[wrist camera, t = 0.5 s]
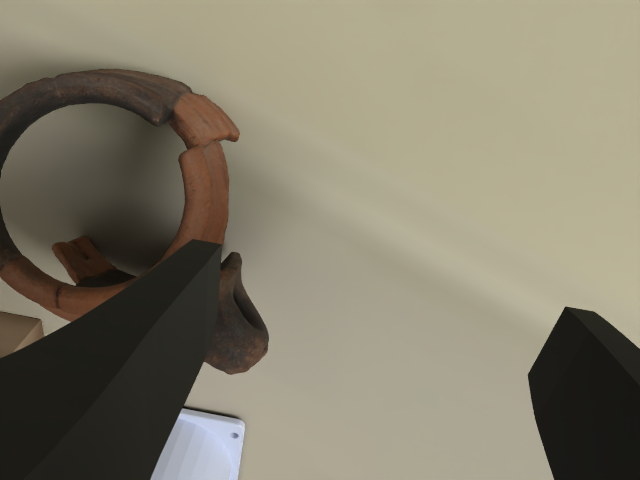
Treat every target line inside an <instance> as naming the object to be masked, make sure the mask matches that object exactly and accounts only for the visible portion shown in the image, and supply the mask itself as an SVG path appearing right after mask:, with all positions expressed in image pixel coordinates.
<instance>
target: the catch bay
mask: <svg viewBox="0 0 640 480" xmlns="http://www.w3.org/2000/svg"><path fill="white" fill-rule="evenodd" d="M43 337H44V334H43V328H42V323H41V320H40V319H35V318H30V317H25V316H19V315H14V314H9V313H4V312H0V358H2V357H4V356H6V355H9V354H11V353H13V352H15V351H17V350H19V349H22V348H24V347H26V346H28V345H30V344H31V343H33V342H35V341H37V340H39V339H41V338H43Z"/></svg>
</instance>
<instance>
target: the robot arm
mask: <svg viewBox="0 0 640 480" xmlns="http://www.w3.org/2000/svg"><path fill="white" fill-rule="evenodd" d="M221 251H222V244H218V243H213V242H207V241H202V240H196V239H192V240H191V241H189V242H187V243H186V244H185V245H183V246H182V247H181V248H179V249H178V250H177V251H175V252H174V253H173V254H171V255H170V256H169V257H167V258H166V259H165V260H163V261H162V262H161V263H159V264H158V265H157V266H155V267H154V268H153V269H151V270H150V271H148V272H147V273H146V274H144V275H143V276H141V277H140V278H139V279H137V280H136V281H134V282H133V283H131V284H130V285H129V286H127V287H126V288H124V289H123V290H121V291H120V292H119V293H117V294H116V295H114V296H113V297H111V298H109V299H108V300H106V301H105V302H103V303H101V304H100V305H98V306H97V307H95V308H94V309H92V310H90V311H89V312H87V313H86V314H84V315H82V316H81V317H79V318H78V319H76V320H74V321H72V322H71V323H69V324H67V325H66V326H64V327H62V328H60V329H58V330H56V331H55V332H53V333H51V334H49V335H47V336H45V337H43V338H41V339H39V340H37V341H35V342H33V343H31V344H30V345H28V346H26V347H24V348H22V349H19V350H17V351H15V352H13V353H11V354H9V355H6V356H4V357H2V358H0V480H238V474H239V467H240V460H241V452H242V445H243V438H244V431H245V424H244V422H243V421H241V420H239V419H236V418H230V417H225V416H220V415H215V414H209V413H204V412H199V411H194V410H188V409H183V406H184V403H185V401H186V399H187V397H188V395H189V393H190V391H191V388H192V386H193V384H194V382H195V380H196V377H197V375H198V373H199V371H200V369H201V366H202V364H203V362H204V359H205V356H206V353H207V350H208V347H209V344H210V341H211V338H212V335H213V332H214V329H215V325H216V322H217V319H218V302H219V285H220V268H221ZM528 380H529V386H530V393H531V399H532V405H533V410H534V415H535V420H536V424H537V427H538V430H539V434H540V437H541V440H542V443H543V446H544V449H545V453H546V456H547V459H548V462H549V465H550V468H551V471H552V474H553V477H554V480H640V349H639V348H638V347H637V346H636V345H635V344H633V343H632V342H631V341H630V340H629V339H628V338H626V337H625V336H624V335H623V334H622V333H621V332H619V331H618V330H617V329H616V328H615V327H614V326H612V325H611V324H610V323H609V322H607V321H606V320H605V319H604V318H602V317H601V316H600V315H598V314H597V313H595V312H593V311H588V310H582V309H576V308H571V307H565V308H564V310H563V312H562V314H561V315H560V317H559V319H558V321H557V323H556V324H555V326H554V328H553V330H552V332H551V334H550V335H549V337H548V339H547V341H546V343H545V344H544V346H543V348H542V350H541V352H540V354H539V355H538V357H537V359H536V361H535V363H534V364H533V366H532V368H531V370H530V372H529V373H528Z"/></svg>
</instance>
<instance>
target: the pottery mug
mask: <svg viewBox="0 0 640 480" xmlns="http://www.w3.org/2000/svg"><path fill="white" fill-rule="evenodd" d="M86 103H103V104H110V105H115V106H118V107H121V108H124V109H127V110H129V111H131V112H134V113H136V114H138V115H139V116H141V117H142V118H144V119H145V120H147V121H148V122H150V123H151V124H153V125H154V126H157V127H159V126H161V125H162V124H166V123H169V124H170V125H171V127H172V128H173V129H174V130H175V132H176V133H177V134H178V135H179V136H180V137H181V138H182V140H183V141H184V143H185V145H186V147H187V150H186V151H184V152H183V153H181V155H180V156H179V158H178V161H179V164H180V168H181V171H182V176H183V182H184V189H185V206H184V212H183V217H182V220H181V224H180V227H179V230H178V233H177V235H176V237H175V239H174V241H173V242H172V244H171V246H170V247H169V249H168V250H167V251H166V253H165V254H164V256H163V257H162V259H161V261H159V262H158V263H157V264H155V265H154V266H153V267H152V268H151V269H153V268H154V267H155V266H157V265H158V264H159V263H161V262H162V261H163V260H165V259H166V258H167V257H169V256H170V255H171V254H173V253H174V252H175V251H177V250H178V249H179V248H181V247H182V246H183V245H185V244H186V243H187V242H189V241H191V240H192V239H196V240H202V241H207V242H213V243H218V244H222V246H223V241H224V234H225V230H226V227H227V222H228V201H229V199H228V192H229V177H228V169H227V164H226V160H225V156H224V153H223V150H222V146H221V144H220V143H219V141H222V140H225V139H226V140H228V141H232V142H236V141H237V140H238V138H239V135H240V133H239V130H238V128H237V127H236V126H235V124H234V123H233V122H232V120H231V119H230V118H229V117H228V116H227V115H226V114H225V113H224V111H223V110H222V109H221V108H220V107H219V106H217V105H216V104H215V103H213V102H212V101H210V100H209V99H208V98H207V97H206V96H204V95H197V94H193V93H192V90H191V88H190V87H188V86H187V85H185V84H184V83H182V82H179V81H176V80H172V79H169V78H165V77H161V76H158V75H152V74H147V73H143V72H138V71H131V70H121V69H100V70H90V71H83V72H72V73H66V74H60V75H58V76H57V77H55V78H43V79H41V80H38V81H35V82H31V83H27V84H26V85H24V86H23V87H22V88H20V89H19V90H17V91H15V92H13V93H12V94H10V95H8V96H7V97H5V98H3V99H2V100H1V101H0V177H1V170H2V167H3V164H4V162H5V160H6V158H7V155H8V153H9V151H10V149H11V147H12V146H13V145H14V143H15V142H16V141H17V139H18V138H19V137H20V135H21V134H22V133H23V132H24V131H25V130H26V129H27V128H28V127H29V126H30V125H31V124H32V123H34V122H35V121H36V120H38V119H39V118H41V117H42V116H44V115H46V114H48V113H50V112H51V111H53V110H56V109H59V108H62V107H65V106H68V105H74V104H86ZM52 250H53V252H54V254H55V256H56V257H57V258H58V259H59V261H60V262H61V263H62V264H63V266H64V267H65V268H66V270H67V272H68V274H69V275H70V277H71V278H72V280H73V281H74V282H75V283H76V286H73V285H70V284H67V283H64V282H61V281H58V280H56V279H54V278H52V277H51V276H49V275H47V274H46V273H44V272H43V271H41V270H40V269H39V268H38V267H36V266H35V265H34V264H33V263H32V262H31V261H30V260H29V259H28V258H26V257H25V256H23V255H22V254H21V252H20V251H19V250H18V249H17V247H16V246H15V244H14V243H13V241H12V239H11V237H10V236H9V233H8V231H7V229H6V226H5V223H4V221H3V217H2V213H1V208H0V277H1V278H2V280H4V281H5V282H6V283H7V284H8V285H9V286H11V287H12V288H13V289H14V290H16V291H17V292H18V293H20V294H22V295H23V296H25V297H27V298H28V299H30V300H32V301H34V302H36V303H38V304H40V305H41V306H42V307H44V308H45V309H47V310H48V311H50V312H52V313H53V314H55V315H57V316H59V317H61V318H63V319H66V320H68V321H70V322H72V321H74V320H76V319H78V318H79V317H81V316H82V315H84V314H86V313H87V312H89V311H90V310H92V309H94V308H95V307H97V306H98V305H100V304H101V303H103V302H105V301H106V300H108V299H109V298H111V297H113V296H114V295H116V294H117V293H119V292H120V291H121V290H123V289H124V288H126V287H127V286H129V285H130V284H131V283H133V282H134V281H136V280H137V279H139V278H140V277H141V276H143V275H144V274H146V273H147V272H148V271H150V270H151V269H149V270H148V271H146V272H145V273H143V274H142V275H140V276H138V277H136V276H133V275H130V274H127V273H125V272H123V271H121V270H118V269H117V268H116V267H115V266H113V265H112V264H111V263H110V262H109V261H107V260H106V259H105V258H104V257H103V256H102V255H101V254H100V253H99V252H98V251H97V249H96V248H95V247H94V246H93V244H92V243H91V242H90V240H89V239H88V238H87V237H85V236H83V237H80V238H77V239H74V240H72V241H69V242H68V243H66V242H58V243H55V244H54V245H53V246H52ZM241 265H242V260H241V257H240V254H239V253H236V252H231V253H230V254H229V255H228V256H227V258H226V259H225V260H224V261H223V262H222V263H221V268H220V285H219V302H218V319H217V322H216V325H215V329H214V332H213V335H212V338H211V341H210V344H209V347H208V350H207V353H206V356H205V359H204V362H206V363H208V364H210V365H211V366H213V367H214V368H216V369H219V370H221V371H224V372H225V373H227V374H230V375H232V374H236V373H243V372H246V371H248V370H249V369H250V368H251V367H252V366H254V365H255V364H256V363H257V362H259V361H260V359H261V358H262V357H263V356H264V355H265V354H266V353H267V350H268V341H269V336H268V331H267V328H266V326H265V324H264V322H263V320H262V318H261V317H260V315H259V313H258V311H257V310H256V308H255V306H254V305H253V303H252V301H251V300H250V298H249V297H248V295H247V293H246V291H245V289H244V287H243V284H242V280H241Z"/></svg>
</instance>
